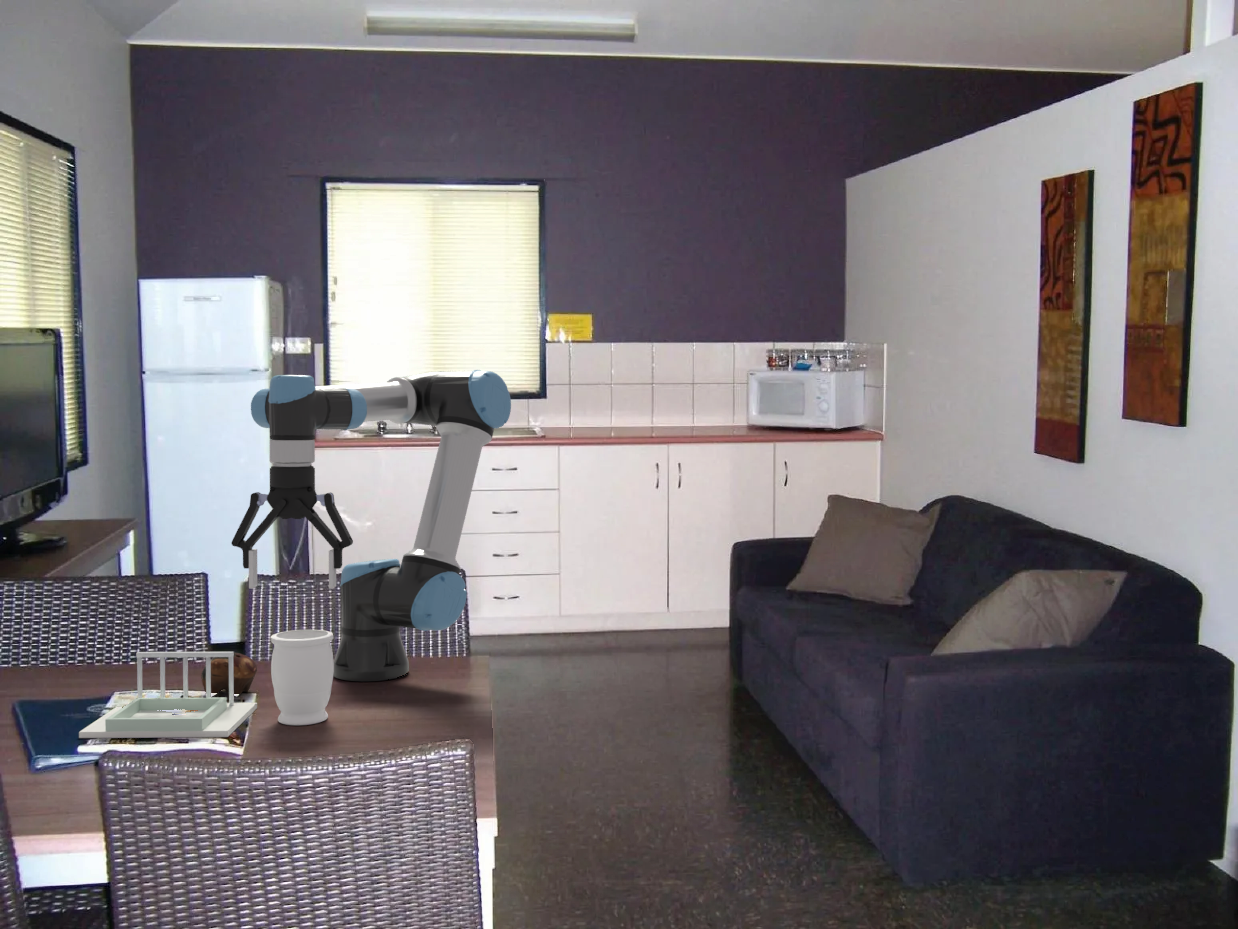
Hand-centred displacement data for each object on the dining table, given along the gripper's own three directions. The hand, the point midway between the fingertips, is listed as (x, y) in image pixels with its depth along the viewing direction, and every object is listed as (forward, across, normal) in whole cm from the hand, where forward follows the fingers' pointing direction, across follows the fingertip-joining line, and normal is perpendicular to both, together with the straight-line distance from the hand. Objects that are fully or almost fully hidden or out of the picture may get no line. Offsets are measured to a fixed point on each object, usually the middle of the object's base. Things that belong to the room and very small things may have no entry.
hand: (292, 587), depth 210 cm
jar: (+23, -2, +1) cm, 23 cm away
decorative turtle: (+23, +16, -19) cm, 34 cm away
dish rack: (+23, +20, +2) cm, 31 cm away
